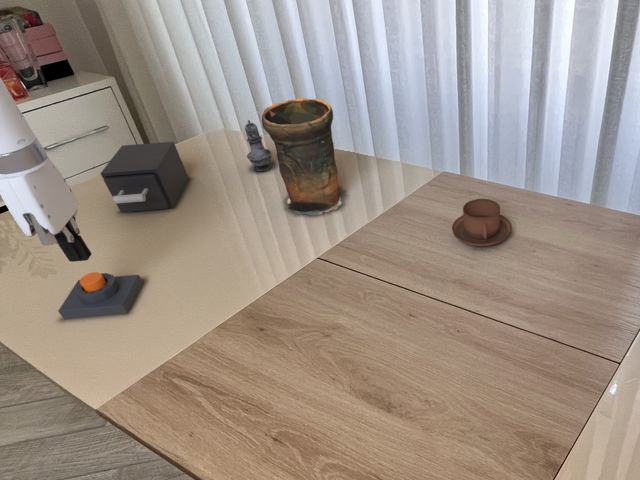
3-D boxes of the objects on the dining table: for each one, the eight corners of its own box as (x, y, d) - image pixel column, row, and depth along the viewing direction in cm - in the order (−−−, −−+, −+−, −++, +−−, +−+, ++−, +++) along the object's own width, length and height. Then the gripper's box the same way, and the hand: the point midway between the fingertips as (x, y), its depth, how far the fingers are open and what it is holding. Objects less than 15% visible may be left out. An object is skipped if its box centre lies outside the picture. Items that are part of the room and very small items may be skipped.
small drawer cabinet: (174, 209, 123) (156, 168, 117) (121, 213, 123) (100, 173, 116) (189, 180, 133) (173, 141, 126) (140, 183, 132) (121, 145, 126)
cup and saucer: (522, 241, 110) (523, 214, 105) (468, 258, 106) (467, 231, 102) (494, 213, 117) (494, 187, 113) (443, 228, 114) (441, 201, 110)
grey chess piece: (246, 172, 135) (230, 124, 126) (258, 161, 139) (243, 114, 130) (268, 174, 134) (253, 125, 125) (279, 163, 138) (265, 115, 129)
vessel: (357, 185, 128) (340, 97, 114) (338, 218, 118) (318, 125, 104) (299, 183, 130) (275, 95, 116) (275, 214, 120) (247, 123, 106)
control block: (64, 320, 97) (51, 303, 94) (84, 288, 103) (72, 271, 101) (128, 314, 98) (117, 297, 95) (144, 283, 104) (134, 266, 101)
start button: (81, 293, 97) (76, 285, 95) (89, 280, 99) (84, 273, 98) (102, 291, 97) (97, 283, 96) (109, 279, 99) (104, 271, 98)
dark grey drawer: (163, 218, 119) (147, 185, 113) (114, 222, 118) (95, 189, 113) (183, 181, 131) (169, 149, 125) (138, 184, 130) (123, 153, 125)
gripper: (13, 137, 87) (76, 236, 100) (-38, 183, 76) (39, 287, 89) (62, 133, 87) (118, 232, 100) (18, 178, 77) (87, 282, 89)
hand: (81, 258), depth 95 cm, fingers closed
